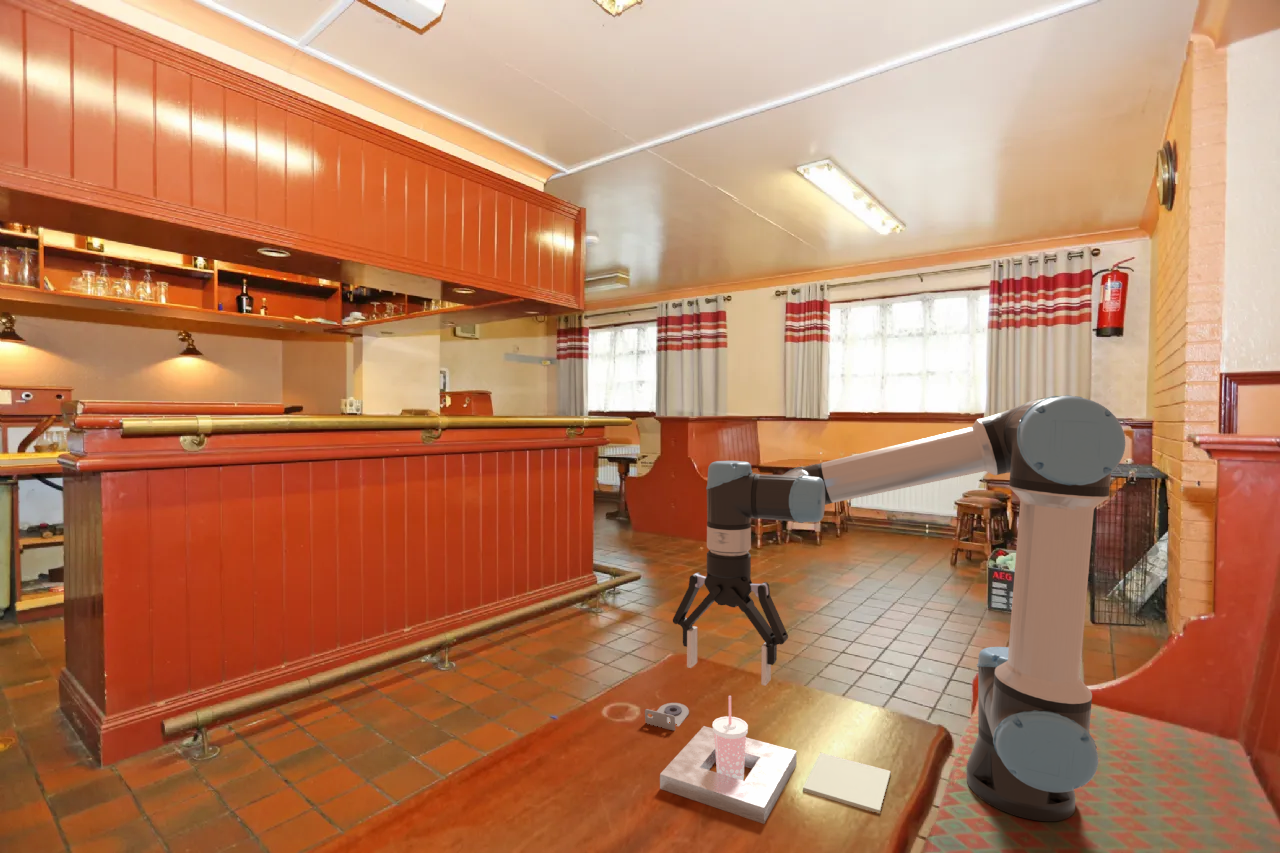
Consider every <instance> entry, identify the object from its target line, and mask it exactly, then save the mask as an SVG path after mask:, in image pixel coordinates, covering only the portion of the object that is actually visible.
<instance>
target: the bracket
mask: <svg viewBox="0 0 1280 853" xmlns="http://www.w3.org/2000/svg"><path fill="white" fill-rule="evenodd" d="M689 714H690V710H689V708H688V707H687V705H685V704H683V703H680V702H668V703H665V704H663V705H661V706H659V708H658V709H657V710H652V709H648V708H646V709H644V720H645V722H644V723H647V724H646V725H649V724H650V726H653V725H654V727H657V726H658V728H661V727H662V729H666V730H670V731H673V732H675V731H676V727H680V726H681V724H683V722H684V721H685V720H686V719H687V717H688V716H689ZM649 715H651V716H649ZM669 722H670V723H669ZM676 724H677V725H676Z"/></svg>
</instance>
